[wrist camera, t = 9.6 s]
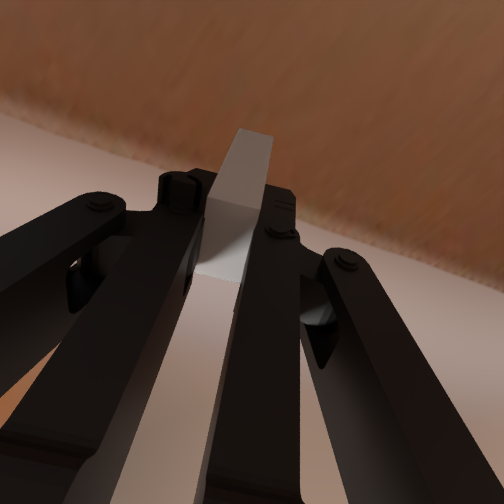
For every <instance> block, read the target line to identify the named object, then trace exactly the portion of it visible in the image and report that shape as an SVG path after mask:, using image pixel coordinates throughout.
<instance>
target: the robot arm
mask: <svg viewBox="0 0 504 504" xmlns="http://www.w3.org/2000/svg"><path fill="white" fill-rule="evenodd" d="M273 138H274V137H273V136H269V135H265V134H261V133H257V132H253V131H249V130H245V129H241V128H239V129H238V132H237V134H236V136H235V138H234V140H233V142H232V145H231V147H230V149H229V151H228V153H227V155H226V157H225V160H224V162H223V164H222V166H221V168H220V170H219V172H218V173H215V172H210V171H206V170H202V169H198V168H195V169H192V170H190V171H188V172H181V171H171V172H166V173H164V174H162V175H160V176H159V184H158V198H157V204H156V205H155V207H154V208H153V210H151V211H129V210H126V202H125V201H124V200H123V199H122V198H120V197H119V196H117V195H114V194H111V193H108V192H98V191H97V192H91V193H85V194H83V195H80V196H78V197H76V198H74V199H72V200H70V201H68V202H66V203H64V204H62V205H60V206H58V207H56V208H55V209H53V210H51V211H49V212H47V213H45V214H43V215H41V216H39V217H37V218H35V219H33V220H31V221H30V222H28V223H26V224H24V225H22V226H20V227H18V228H16V229H14V230H13V231H10V232H8V233H7V234H5V235H3V236H1V237H0V397H2V396H3V395H4V394H5V393H6V392H7V391H8V390H9V389H10V388H11V387H12V386H13V385H14V384H16V383H17V382H18V381H19V380H20V379H21V378H22V377H23V376H24V375H25V374H27V373H28V372H29V370H31V369H32V368H33V367H34V366H35V365H36V364H37V363H38V362H39V361H40V360H41V359H42V358H44V357H45V356H46V355H47V354H48V353H49V352H50V351H52V349H54V348H55V347H56V346H57V345H58V344H59V343H60V342H61V341H62V342H61V343H60V344H59V346H58V348H57V349H56V350H55V352H54V353H53V355H52V356H51V358H50V359H49V361H48V362H47V363H46V365H45V366H44V368H43V369H42V371H41V372H40V374H39V375H38V376H37V378H36V379H35V381H34V382H33V384H32V385H31V386H30V388H29V389H28V391H27V392H26V394H25V395H24V397H23V398H22V400H21V401H20V403H19V404H18V405H17V407H16V408H15V410H14V411H13V413H12V414H11V416H10V417H9V418H8V420H7V421H6V422H5V424H4V425H3V426H2V427H1V429H0V504H110V501H111V498H112V495H113V493H114V490H115V487H116V485H117V482H118V480H119V477H120V474H121V471H122V468H123V466H124V463H125V461H126V458H127V455H128V453H129V450H130V447H131V445H132V442H133V439H134V437H135V434H136V431H137V428H138V426H139V423H140V420H141V418H142V415H143V413H144V410H145V407H146V404H147V402H148V399H149V396H150V394H151V391H152V388H153V386H154V383H155V380H156V378H157V375H158V372H159V370H160V367H161V364H162V361H163V359H164V356H165V354H166V351H167V348H168V345H169V342H170V340H171V337H172V335H173V332H174V329H175V327H176V324H177V321H178V319H179V316H180V313H181V311H182V308H183V305H184V302H185V300H186V297H187V294H188V292H189V289H190V286H191V284H192V278H193V272H194V269H195V266H196V269H195V273H198V274H202V275H206V276H210V277H214V278H219V279H223V280H227V281H231V282H236V283H240V287H239V292H238V295H237V299H236V303H235V307H234V311H233V312H234V314H233V319H232V324H231V329H230V333H229V338H228V343H227V348H226V352H225V357H224V361H223V366H222V371H221V376H220V380H219V385H218V390H217V395H216V399H215V404H214V409H213V413H212V418H211V423H210V427H209V432H208V437H207V442H206V446H205V451H204V456H203V460H202V465H201V470H200V475H199V479H198V484H197V489H196V494H195V498H194V503H193V504H305V503H304V502H303V501H302V498H301V494H300V339H301V343H302V346H303V349H304V353H305V356H306V359H307V363H308V366H309V370H310V373H311V377H312V380H313V383H314V387H315V390H316V394H317V397H318V401H319V404H320V407H321V411H322V414H323V417H324V421H325V424H326V428H327V431H328V435H329V438H330V441H331V445H332V448H333V452H334V455H335V459H336V462H337V465H338V469H339V472H340V476H341V479H342V482H343V486H344V489H345V492H346V496H347V499H348V503H349V504H504V488H503V487H502V485H501V483H500V482H499V480H498V478H497V476H496V475H495V473H494V471H493V470H492V468H491V467H490V465H489V463H488V461H487V460H486V458H485V457H484V455H483V453H482V451H481V450H480V448H479V447H478V445H477V443H476V442H475V440H474V438H473V437H472V435H471V433H470V432H469V430H468V428H467V427H466V425H465V423H464V422H463V420H462V418H461V417H460V415H459V413H458V412H457V410H456V408H455V407H454V405H453V404H452V402H451V400H450V398H449V397H448V395H447V394H446V392H445V390H444V388H443V387H442V385H441V383H440V382H439V380H438V379H437V377H436V375H435V373H434V372H433V370H432V368H431V367H430V365H429V364H428V362H427V360H426V358H425V357H424V355H423V353H422V352H421V350H420V348H419V347H418V345H417V343H416V342H415V340H414V338H413V337H412V335H411V333H410V332H409V330H408V328H407V327H406V325H405V323H404V322H403V320H402V318H401V317H400V315H399V313H398V312H397V310H396V309H395V307H394V305H393V303H392V302H391V300H390V298H389V297H388V295H387V294H386V292H385V290H384V289H383V287H382V285H381V283H380V282H379V280H378V279H377V277H376V275H375V273H374V272H373V271H372V269H371V267H370V265H369V264H368V263H367V261H366V260H365V259H364V258H363V257H361V256H360V255H358V254H357V253H356V252H354V251H351V250H349V249H343V248H330V249H327V250H326V251H325V253H324V254H323V256H322V255H320V254H317V253H315V252H313V251H311V250H309V249H307V248H306V247H305V246H303V245H302V244H301V243H300V235H299V233H298V231H297V230H296V229H295V218H296V212H295V211H296V197H295V196H294V194H293V193H292V192H291V190H288V189H284V188H280V187H276V186H272V185H268V184H265V182H266V177H267V171H268V166H269V160H270V155H271V149H272V144H273ZM76 260H77V263H76V264H75V265H73V266H72V267H70V266H71V265H72V264H73V263H74V262H75V261H76Z"/></svg>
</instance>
